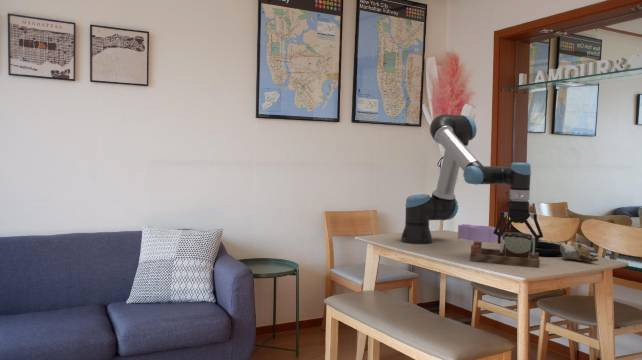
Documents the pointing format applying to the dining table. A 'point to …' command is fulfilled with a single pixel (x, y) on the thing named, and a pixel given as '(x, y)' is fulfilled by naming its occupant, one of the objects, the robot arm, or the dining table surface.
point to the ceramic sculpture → (577, 252)
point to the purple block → (477, 233)
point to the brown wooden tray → (500, 257)
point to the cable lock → (546, 249)
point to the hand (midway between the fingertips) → (517, 253)
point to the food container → (517, 244)
